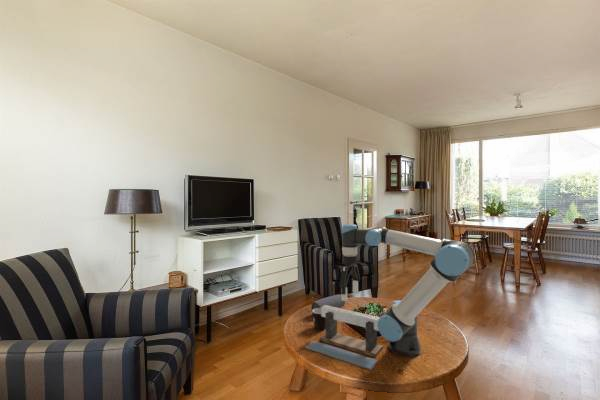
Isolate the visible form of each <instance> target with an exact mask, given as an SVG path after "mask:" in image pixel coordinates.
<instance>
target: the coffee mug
mask: <svg viewBox="0 0 600 400" xmlns="http://www.w3.org/2000/svg"><path fill="white" fill-rule="evenodd" d="M311 312H312V320H313V328H314V330H315V331H319V332H323V331H326V317H322V316H321V308H316V309H313V310H312V309H311Z"/></svg>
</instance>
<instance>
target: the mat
mask: <svg viewBox="0 0 600 400" xmlns="http://www.w3.org/2000/svg"><path fill="white" fill-rule="evenodd" d="M304 348H305V349H306V350H310V351H312V352H314V353H315V352H316V353H319V354H322V355H325V356H328V357H331V358H333V359H337V360H341V361H343V362H345V363H348V364H352V365H355V366H358V367H360V368H361V367H362V368H364V369H368V370H370V371H371V370H372V369H373V368H374V366H376V364H377V363H378V359H374V358H371V357H368V356H365V355H362V354H358V353H355V352H352V351H349V350H347V349H346V350H345V349H342V348H339V347H335V346H334V345H333V346H332V345H331V344H330V345H329V344H326V343H323V342H321V341H320V342H319V341H315V340H313V341H311V342H310V343H309V344H307V345H306V346H305V347H304Z"/></svg>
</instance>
